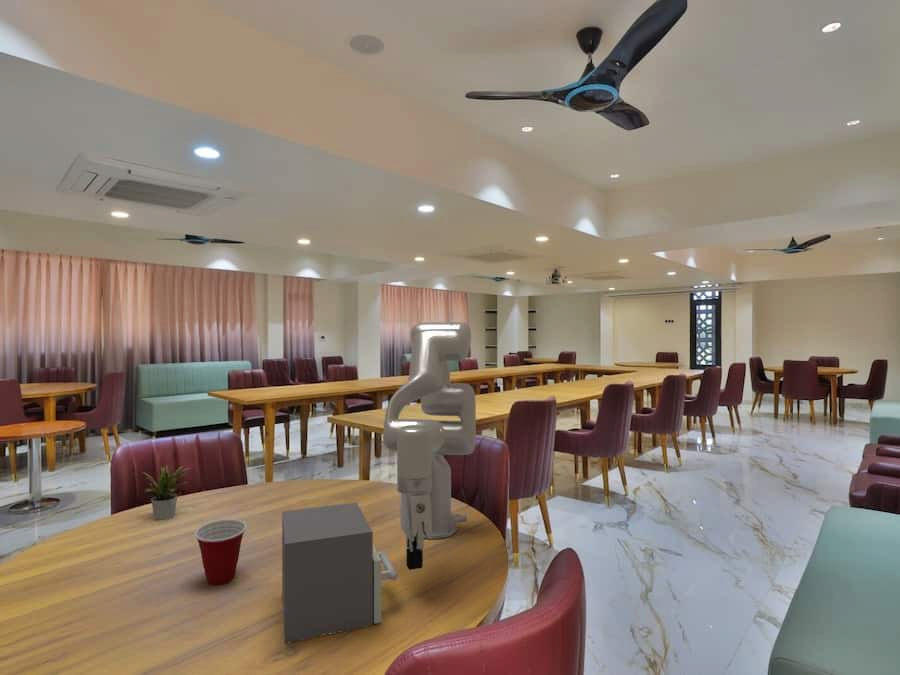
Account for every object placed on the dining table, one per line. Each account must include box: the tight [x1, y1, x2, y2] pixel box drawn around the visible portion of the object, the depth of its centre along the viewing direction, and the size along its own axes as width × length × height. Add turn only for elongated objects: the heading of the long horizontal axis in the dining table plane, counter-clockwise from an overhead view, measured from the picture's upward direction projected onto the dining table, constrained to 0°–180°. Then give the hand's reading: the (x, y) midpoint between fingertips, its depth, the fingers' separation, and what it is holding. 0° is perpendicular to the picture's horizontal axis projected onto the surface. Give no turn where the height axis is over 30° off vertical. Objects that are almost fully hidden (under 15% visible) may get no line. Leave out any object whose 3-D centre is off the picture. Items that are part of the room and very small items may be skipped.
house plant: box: [141, 464, 191, 521], centre depth 150 cm, size 14×14×16 cm
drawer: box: [373, 544, 398, 624], centre depth 100 cm, size 20×18×12 cm
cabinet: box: [281, 502, 374, 644], centre depth 99 cm, size 16×18×18 cm
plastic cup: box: [194, 518, 247, 586], centre depth 111 cm, size 11×11×12 cm
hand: (414, 567), depth 106 cm, fingers closed
